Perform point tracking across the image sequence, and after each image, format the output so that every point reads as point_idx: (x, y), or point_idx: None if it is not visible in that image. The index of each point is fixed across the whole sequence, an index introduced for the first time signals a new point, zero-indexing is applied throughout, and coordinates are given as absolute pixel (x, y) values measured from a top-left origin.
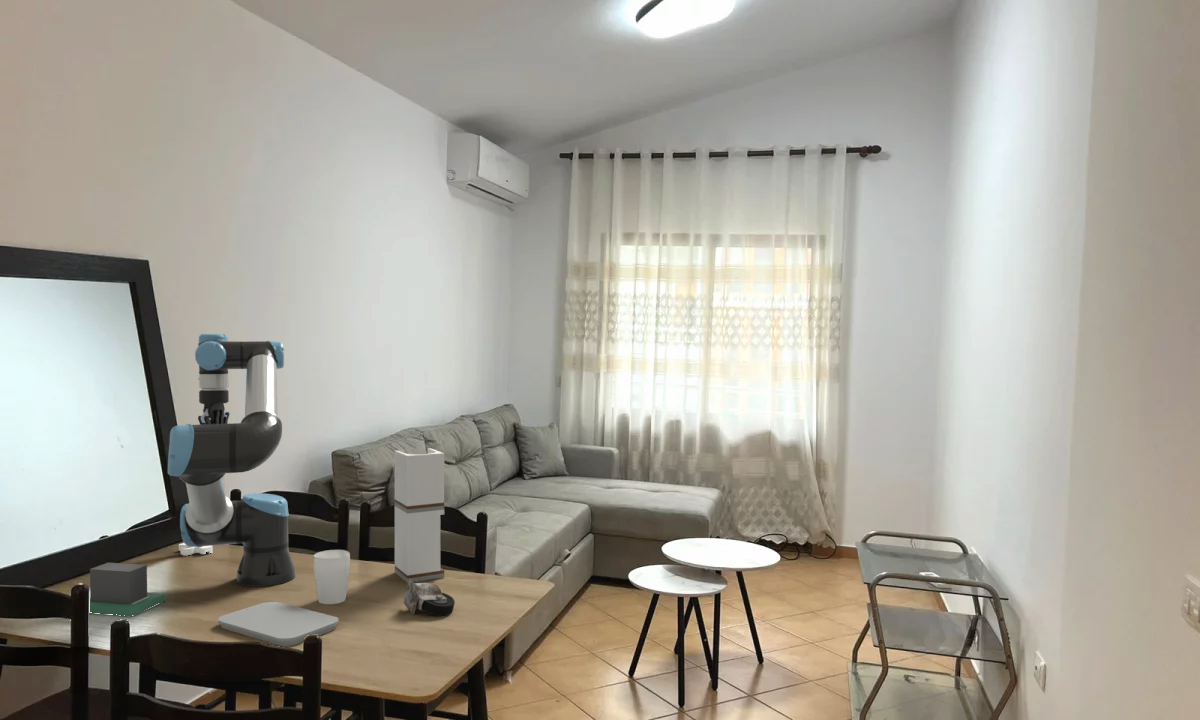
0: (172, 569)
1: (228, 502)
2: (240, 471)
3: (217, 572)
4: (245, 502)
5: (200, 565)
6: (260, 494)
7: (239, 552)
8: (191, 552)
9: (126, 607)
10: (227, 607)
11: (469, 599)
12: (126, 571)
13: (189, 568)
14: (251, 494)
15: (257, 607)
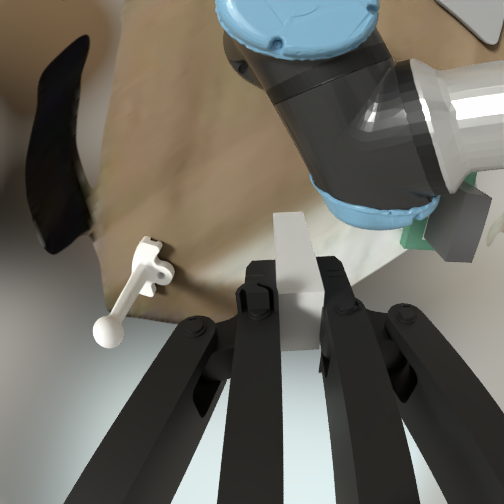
0: (251, 241)
1: (428, 72)
2: None
3: (255, 153)
4: (372, 31)
5: (217, 210)
6: (269, 12)
7: (126, 194)
8: (166, 263)
9: (472, 179)
10: (432, 50)
11: None
12: (490, 203)
13: (239, 218)
14: (299, 34)
15: (453, 3)
